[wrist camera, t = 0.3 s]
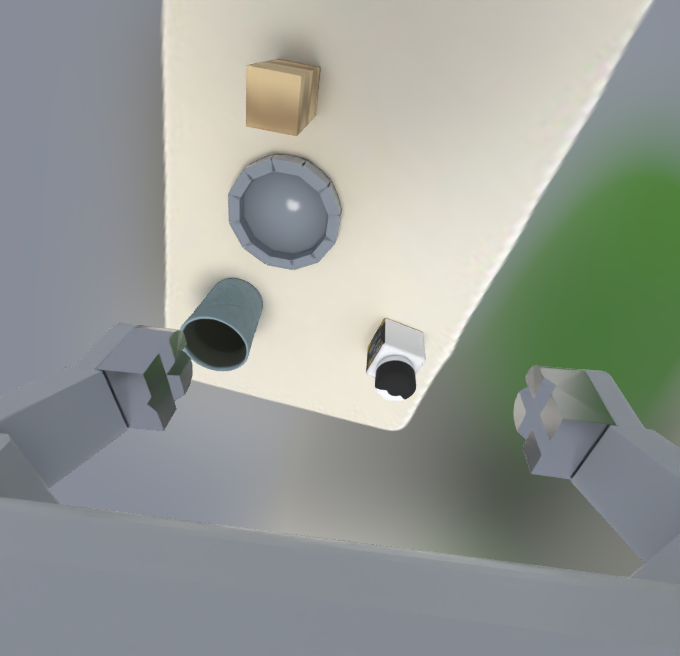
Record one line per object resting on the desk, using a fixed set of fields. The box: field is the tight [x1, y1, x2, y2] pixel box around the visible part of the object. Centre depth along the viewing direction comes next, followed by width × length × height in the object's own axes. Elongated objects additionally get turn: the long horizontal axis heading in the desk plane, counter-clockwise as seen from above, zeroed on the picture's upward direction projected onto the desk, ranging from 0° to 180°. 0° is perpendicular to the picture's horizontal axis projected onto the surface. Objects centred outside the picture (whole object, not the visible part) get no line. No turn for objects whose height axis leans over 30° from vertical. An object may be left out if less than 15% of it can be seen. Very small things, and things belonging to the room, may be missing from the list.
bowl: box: [228, 154, 341, 270], centre depth 54 cm, size 15×15×3 cm
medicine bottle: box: [366, 318, 426, 401], centre depth 62 cm, size 7×7×12 cm
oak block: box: [246, 59, 321, 136], centre depth 41 cm, size 5×5×12 cm
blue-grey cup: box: [180, 278, 263, 371], centre depth 61 cm, size 10×10×12 cm
